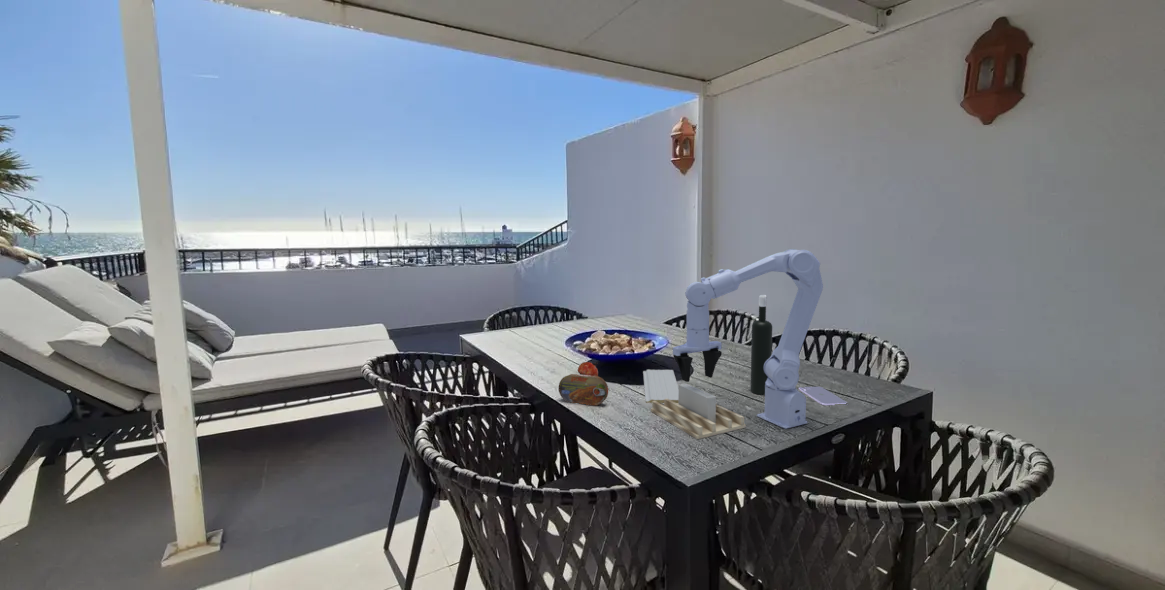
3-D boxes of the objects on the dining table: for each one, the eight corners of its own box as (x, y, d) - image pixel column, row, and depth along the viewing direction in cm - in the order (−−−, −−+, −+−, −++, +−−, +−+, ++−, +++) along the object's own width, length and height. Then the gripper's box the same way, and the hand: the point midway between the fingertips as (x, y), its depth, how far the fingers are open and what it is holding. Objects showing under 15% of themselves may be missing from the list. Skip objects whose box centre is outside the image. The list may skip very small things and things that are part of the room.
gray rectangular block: (715, 423, 114) (715, 396, 113) (707, 425, 113) (707, 398, 112) (685, 408, 125) (686, 383, 124) (678, 409, 124) (678, 384, 123)
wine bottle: (757, 395, 135) (760, 296, 132) (746, 389, 141) (748, 294, 137) (774, 393, 137) (777, 295, 133) (762, 388, 142) (765, 293, 139)
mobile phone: (822, 403, 127) (797, 386, 141) (822, 406, 127) (796, 389, 142) (849, 402, 127) (821, 385, 141) (849, 406, 127) (821, 388, 142)
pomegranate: (584, 393, 148) (607, 373, 149) (569, 376, 147) (593, 356, 148) (580, 388, 155) (602, 369, 156) (567, 372, 154) (589, 353, 155)
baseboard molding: (640, 404, 132) (682, 405, 131) (640, 394, 132) (682, 395, 130) (639, 373, 163) (672, 374, 161) (639, 365, 162) (672, 366, 161)
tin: (558, 401, 134) (557, 374, 133) (562, 398, 137) (562, 371, 136) (606, 407, 129) (605, 379, 128) (609, 404, 132) (609, 375, 131)
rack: (745, 427, 113) (745, 416, 113) (697, 439, 107) (697, 428, 106) (694, 402, 131) (694, 393, 131) (650, 411, 125) (650, 401, 125)
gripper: (709, 323, 124) (708, 371, 126) (665, 328, 118) (665, 378, 120) (727, 327, 118) (726, 377, 120) (682, 333, 112) (682, 386, 114)
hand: (697, 378), depth 119 cm, fingers open, 7 cm apart
